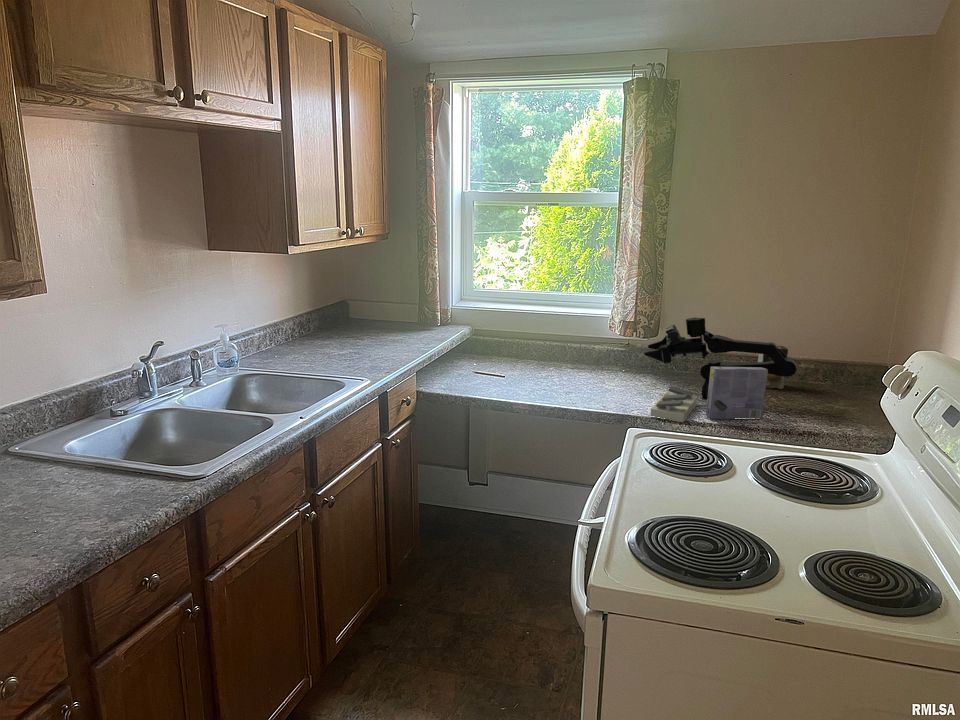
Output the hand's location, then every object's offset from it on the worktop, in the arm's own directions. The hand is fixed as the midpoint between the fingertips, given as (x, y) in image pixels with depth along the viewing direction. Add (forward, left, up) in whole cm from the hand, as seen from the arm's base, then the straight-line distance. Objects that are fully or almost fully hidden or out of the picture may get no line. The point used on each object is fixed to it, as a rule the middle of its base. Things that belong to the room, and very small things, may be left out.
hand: (646, 350), depth 261 cm
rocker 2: (-16, +28, -12) cm, 34 cm away
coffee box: (-42, -29, -16) cm, 54 cm away
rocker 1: (-16, +20, -12) cm, 28 cm away
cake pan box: (-36, +18, -16) cm, 43 cm away
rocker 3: (-16, +12, -12) cm, 23 cm away
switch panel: (-16, +20, -16) cm, 30 cm away
